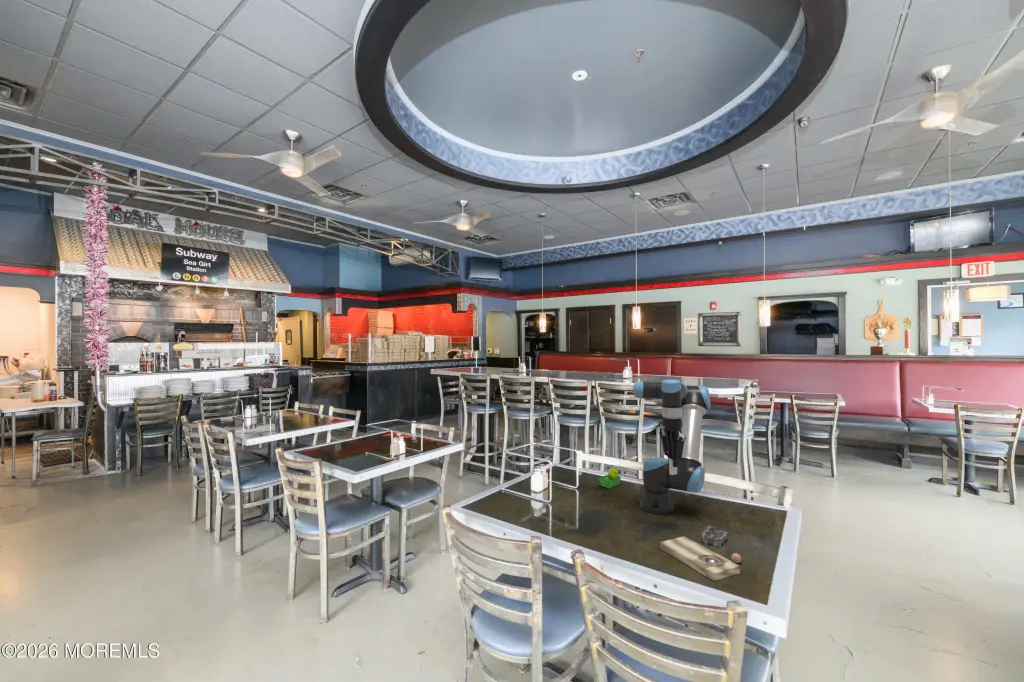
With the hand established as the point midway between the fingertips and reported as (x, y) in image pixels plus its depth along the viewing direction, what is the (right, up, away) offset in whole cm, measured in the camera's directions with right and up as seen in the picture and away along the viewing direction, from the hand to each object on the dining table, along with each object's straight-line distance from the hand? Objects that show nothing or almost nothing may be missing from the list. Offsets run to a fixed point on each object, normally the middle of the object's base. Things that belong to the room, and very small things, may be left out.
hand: (673, 474), depth 178 cm
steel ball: (+3, -22, -29) cm, 37 cm away
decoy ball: (+13, -22, -25) cm, 36 cm away
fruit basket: (-12, -25, +59) cm, 65 cm away
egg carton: (+13, -24, -8) cm, 29 cm away
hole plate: (0, -24, -23) cm, 33 cm away
